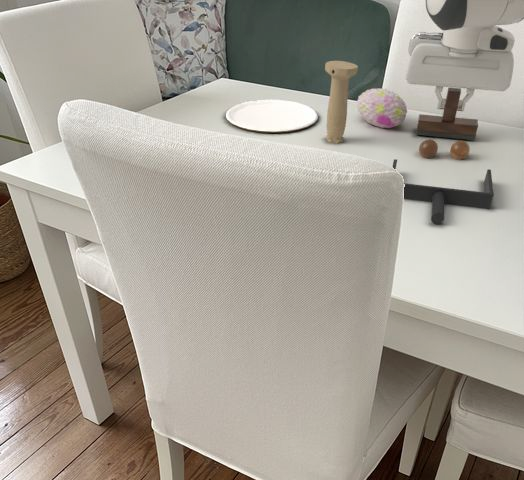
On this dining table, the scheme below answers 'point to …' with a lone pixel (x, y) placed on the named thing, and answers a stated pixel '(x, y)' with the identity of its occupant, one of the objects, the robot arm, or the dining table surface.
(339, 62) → the handle
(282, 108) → the plate
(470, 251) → the dining table surface
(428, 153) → the crumb
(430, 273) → the dining table surface
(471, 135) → the brush
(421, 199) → the dustpan
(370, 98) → the decorative item
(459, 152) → the crumb
